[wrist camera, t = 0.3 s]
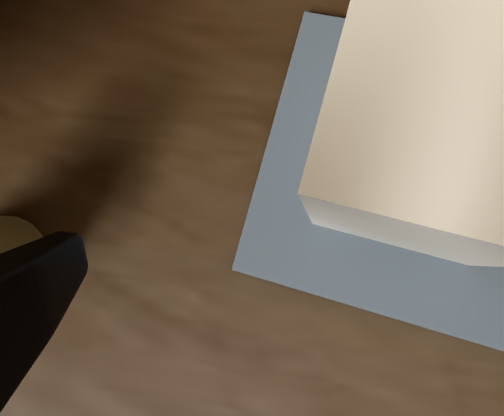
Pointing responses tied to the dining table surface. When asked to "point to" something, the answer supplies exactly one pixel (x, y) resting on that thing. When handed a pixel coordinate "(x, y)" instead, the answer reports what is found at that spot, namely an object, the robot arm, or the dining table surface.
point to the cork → (16, 232)
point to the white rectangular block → (414, 130)
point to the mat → (344, 244)
